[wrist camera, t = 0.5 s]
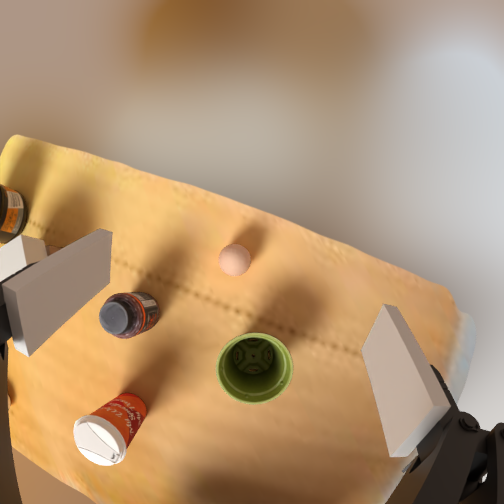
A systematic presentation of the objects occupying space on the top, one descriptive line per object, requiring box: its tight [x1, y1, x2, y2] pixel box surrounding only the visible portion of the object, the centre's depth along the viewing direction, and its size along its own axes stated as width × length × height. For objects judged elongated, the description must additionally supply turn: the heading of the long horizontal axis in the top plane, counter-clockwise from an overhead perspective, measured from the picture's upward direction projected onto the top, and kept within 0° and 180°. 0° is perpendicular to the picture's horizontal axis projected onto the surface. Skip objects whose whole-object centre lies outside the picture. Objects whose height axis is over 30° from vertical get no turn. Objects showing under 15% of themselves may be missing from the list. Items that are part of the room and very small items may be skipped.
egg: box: [219, 244, 251, 276], centre depth 43 cm, size 4×4×6 cm
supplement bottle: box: [99, 292, 159, 339], centre depth 39 cm, size 6×6×11 cm
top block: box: [0, 235, 47, 282], centre depth 36 cm, size 8×8×6 cm
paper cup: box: [74, 393, 147, 466], centre depth 36 cm, size 8×8×14 cm
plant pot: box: [216, 333, 293, 405], centre depth 40 cm, size 9×9×9 cm
